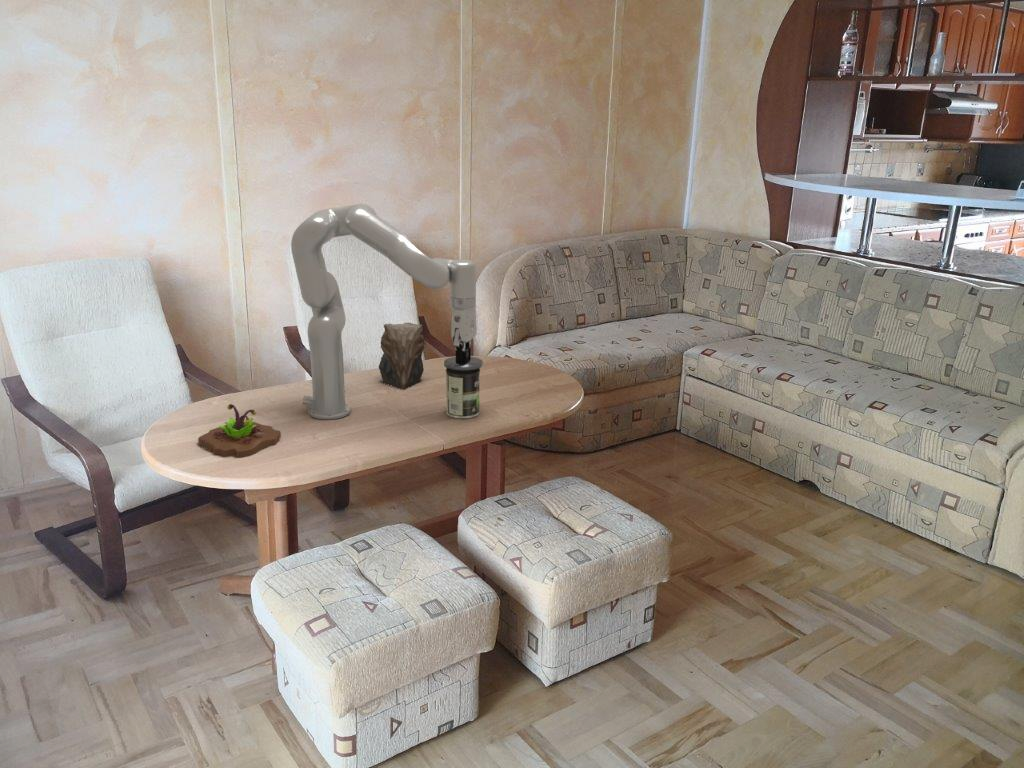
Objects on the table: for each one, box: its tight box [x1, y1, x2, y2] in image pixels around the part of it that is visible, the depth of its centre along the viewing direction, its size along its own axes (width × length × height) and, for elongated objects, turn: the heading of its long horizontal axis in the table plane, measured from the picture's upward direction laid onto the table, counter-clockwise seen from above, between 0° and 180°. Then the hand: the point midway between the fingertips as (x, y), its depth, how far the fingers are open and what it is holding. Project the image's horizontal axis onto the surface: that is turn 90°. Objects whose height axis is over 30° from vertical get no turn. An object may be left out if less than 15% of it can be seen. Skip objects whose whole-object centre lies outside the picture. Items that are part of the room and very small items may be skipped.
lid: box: [443, 348, 484, 371], centre depth 255 cm, size 12×12×5 cm
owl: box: [378, 322, 425, 391], centre depth 284 cm, size 13×13×20 cm
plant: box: [197, 403, 282, 459], centre depth 234 cm, size 20×20×11 cm
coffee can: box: [445, 367, 481, 419], centre depth 258 cm, size 10×10×14 cm
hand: (463, 361), depth 255 cm, fingers closed on lid, 3 cm apart
